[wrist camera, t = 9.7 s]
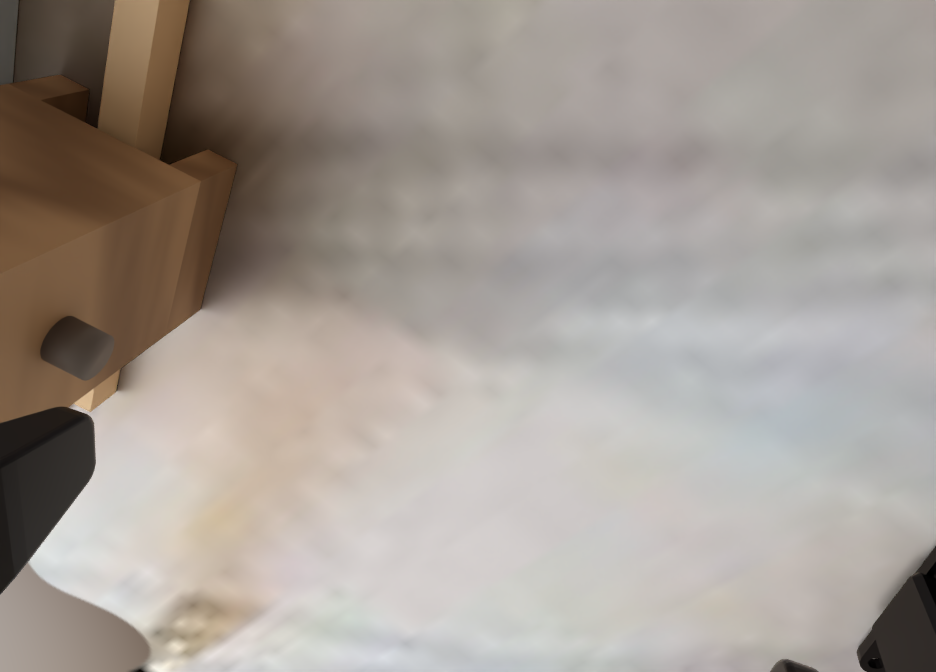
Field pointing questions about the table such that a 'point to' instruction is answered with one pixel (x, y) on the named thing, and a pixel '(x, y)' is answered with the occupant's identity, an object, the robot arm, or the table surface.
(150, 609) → the table surface
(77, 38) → the table surface
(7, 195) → the cabinet
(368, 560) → the table surface
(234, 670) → the table surface
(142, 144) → the wall board
